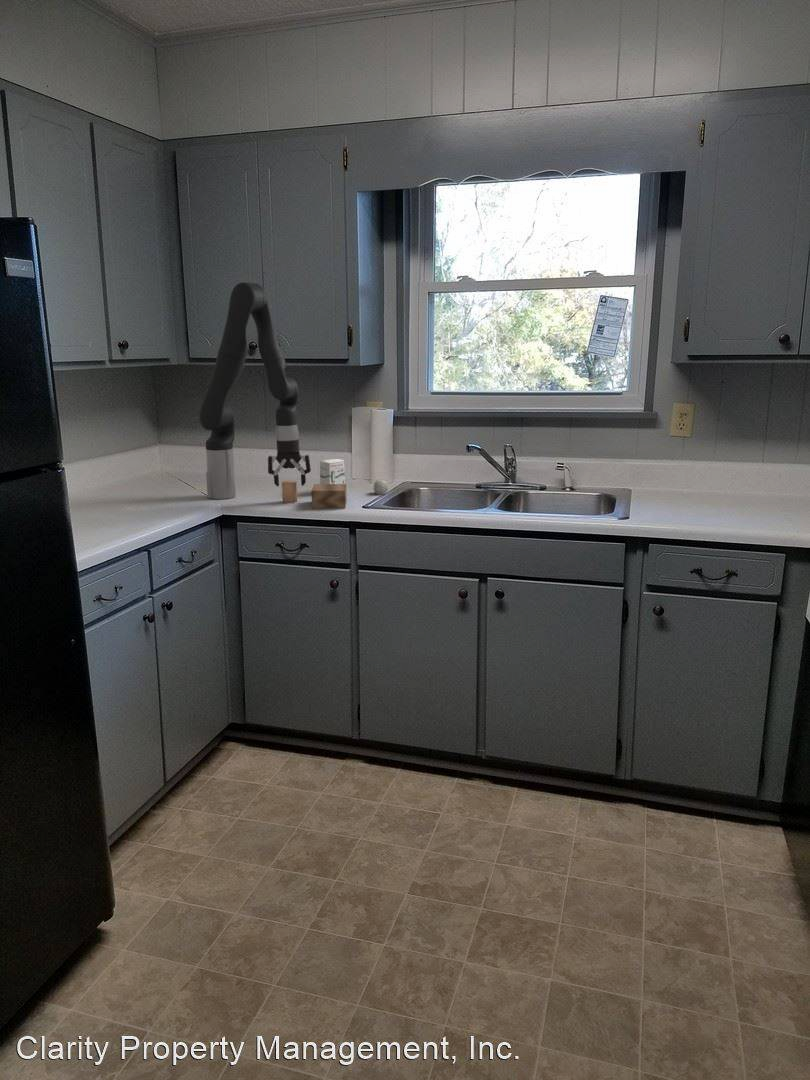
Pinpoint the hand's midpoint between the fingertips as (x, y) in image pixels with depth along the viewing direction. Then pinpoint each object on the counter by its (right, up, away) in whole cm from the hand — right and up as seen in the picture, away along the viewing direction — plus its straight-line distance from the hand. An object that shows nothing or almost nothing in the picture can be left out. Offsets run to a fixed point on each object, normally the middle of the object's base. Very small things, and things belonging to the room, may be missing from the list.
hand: (290, 485), depth 273 cm
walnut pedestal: (+14, -7, -3) cm, 16 cm away
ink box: (+13, -2, +18) cm, 22 cm away
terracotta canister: (0, -6, +2) cm, 6 cm away
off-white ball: (+31, 0, +12) cm, 33 cm away
